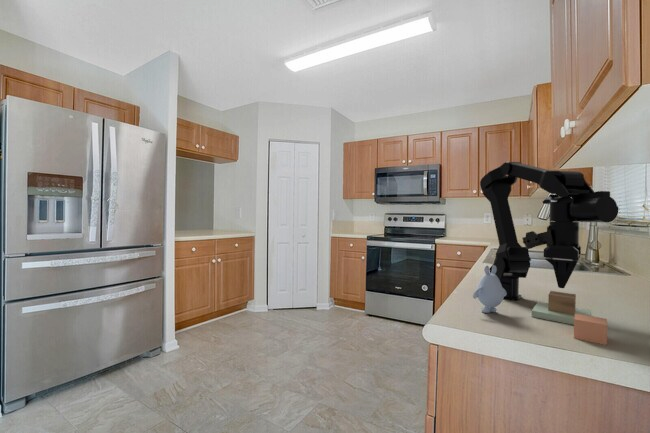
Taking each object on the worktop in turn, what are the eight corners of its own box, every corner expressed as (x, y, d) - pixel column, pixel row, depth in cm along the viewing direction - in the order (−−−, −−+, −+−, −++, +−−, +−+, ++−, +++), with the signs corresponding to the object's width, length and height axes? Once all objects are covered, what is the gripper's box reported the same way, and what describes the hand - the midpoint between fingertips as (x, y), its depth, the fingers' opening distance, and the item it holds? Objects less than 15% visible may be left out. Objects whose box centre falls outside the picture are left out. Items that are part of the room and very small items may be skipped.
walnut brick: (550, 306, 80) (550, 290, 80) (575, 310, 77) (575, 294, 76) (548, 310, 76) (548, 294, 76) (574, 315, 73) (574, 298, 73)
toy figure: (495, 307, 83) (496, 262, 83) (516, 314, 77) (517, 266, 77) (463, 310, 80) (464, 264, 80) (482, 318, 74) (483, 268, 74)
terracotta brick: (574, 332, 66) (575, 313, 66) (606, 338, 63) (606, 318, 63) (573, 338, 63) (574, 319, 63) (607, 345, 59) (607, 325, 59)
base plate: (537, 307, 84) (538, 301, 84) (591, 316, 77) (591, 310, 77) (531, 316, 76) (531, 310, 76) (590, 328, 69) (590, 321, 69)
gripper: (531, 221, 88) (530, 275, 88) (518, 221, 74) (517, 285, 74) (581, 222, 81) (580, 281, 81) (578, 222, 67) (577, 293, 67)
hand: (562, 284), depth 76 cm, fingers open, 9 cm apart
